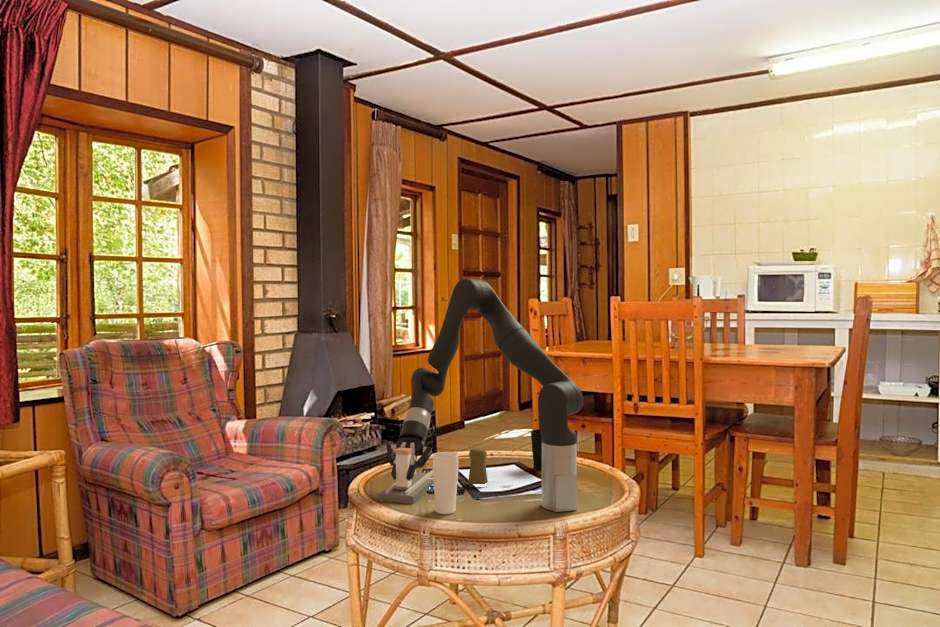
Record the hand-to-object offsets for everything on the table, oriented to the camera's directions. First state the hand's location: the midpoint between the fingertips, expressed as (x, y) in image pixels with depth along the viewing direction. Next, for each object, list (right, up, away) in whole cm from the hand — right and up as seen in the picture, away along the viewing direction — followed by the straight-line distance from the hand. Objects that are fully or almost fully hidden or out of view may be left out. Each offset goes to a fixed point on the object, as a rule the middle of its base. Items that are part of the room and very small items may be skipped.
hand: (401, 478), depth 196 cm
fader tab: (0, -3, +2) cm, 4 cm away
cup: (+42, -5, +33) cm, 54 cm away
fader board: (+2, -5, +8) cm, 10 cm away
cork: (+21, -5, +13) cm, 26 cm away
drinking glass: (+13, -6, -12) cm, 18 cm away
